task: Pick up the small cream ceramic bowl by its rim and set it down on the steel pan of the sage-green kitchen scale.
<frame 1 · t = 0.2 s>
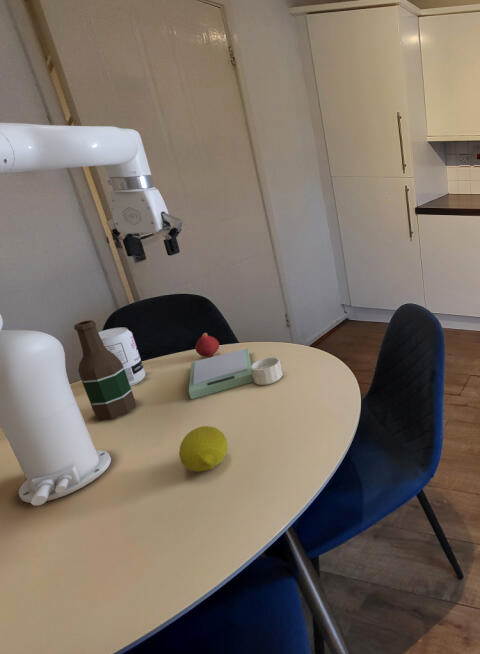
hand: (154, 254, 102), 37 cm above the table, tool pointing down, fingers open, 9 cm apart
scale: (222, 375, 117), on the table
supplement can: (127, 382, 115), on the table
beer bottle: (116, 411, 102), on the table
onion: (210, 357, 127), on the table
bowl: (268, 379, 115), on the table
lemon: (209, 464, 85), on the table
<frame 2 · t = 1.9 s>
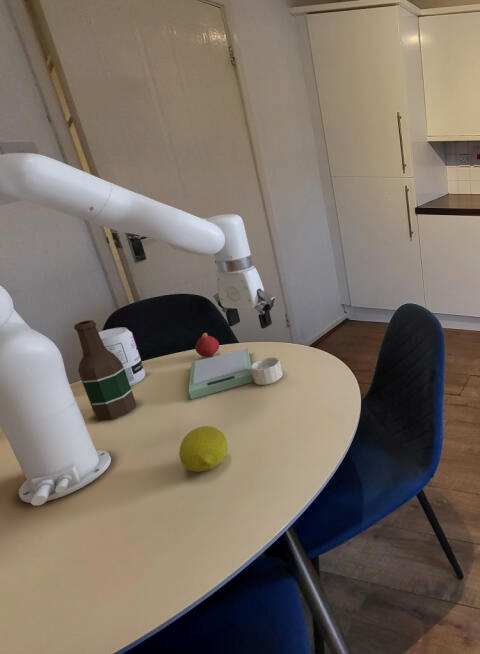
hand: (250, 325, 110), 16 cm above the table, tool pointing down, fingers open, 9 cm apart
nothing on the table moved.
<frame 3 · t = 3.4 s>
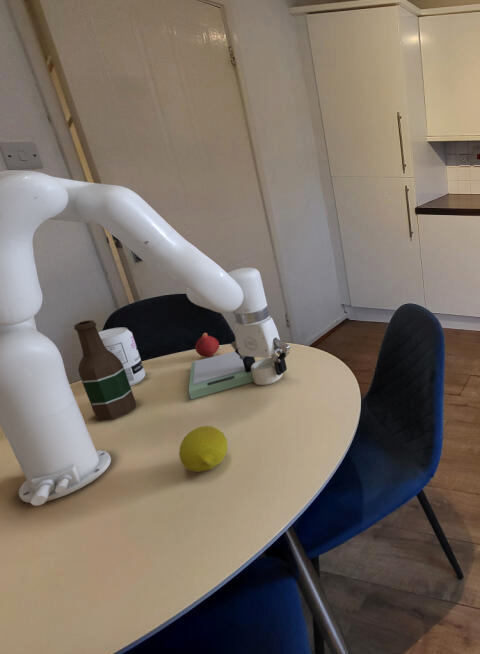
hand: (266, 371, 114), 2 cm above the table, tool pointing down, fingers open, 9 cm apart
nothing on the table moved.
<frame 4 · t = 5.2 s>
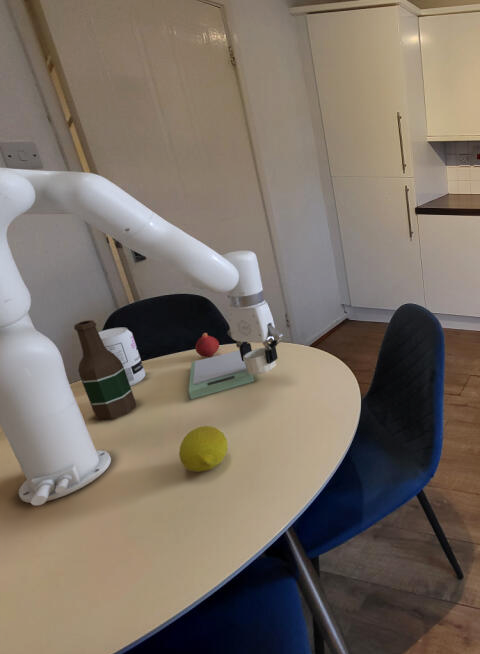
hand: (260, 359, 112), 7 cm above the table, tool pointing down, fingers closed on bowl, 7 cm apart
bowl: (262, 369, 113), point 4 cm above the table, tilted 5°, touching gripper
everything else where it was.
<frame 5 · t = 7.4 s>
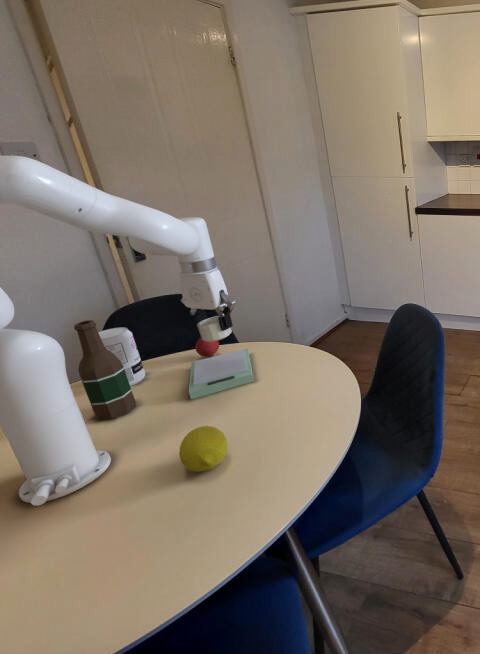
hand: (215, 327, 113), 15 cm above the table, tool pointing down, fingers closed on bowl, 7 cm apart
bowl: (218, 337, 114), point 12 cm above the table, tilted 6°, touching gripper
everything else where it was.
when the fingers open (6 cm above the table, at t = 9.9 s): bowl stays where it is, resting on scale.
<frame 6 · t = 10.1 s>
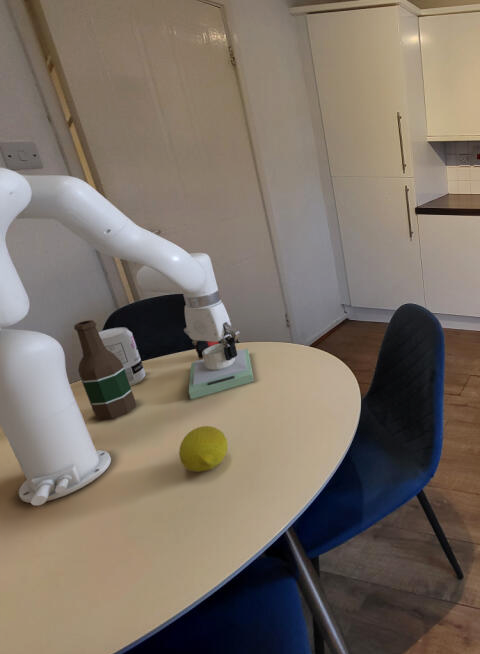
hand: (218, 356, 116), 6 cm above the table, tool pointing down, fingers open, 8 cm apart
bowl: (221, 364, 117), point 3 cm above the table, touching scale
everything else where it was.
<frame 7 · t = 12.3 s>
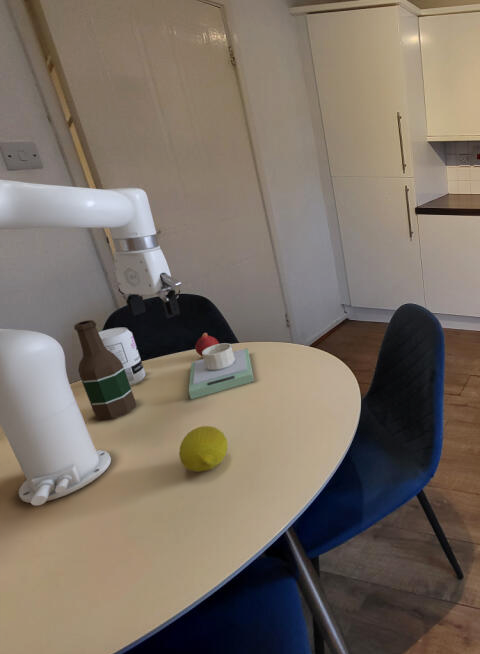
hand: (155, 314, 98), 24 cm above the table, tool pointing down, fingers open, 9 cm apart
nothing on the table moved.
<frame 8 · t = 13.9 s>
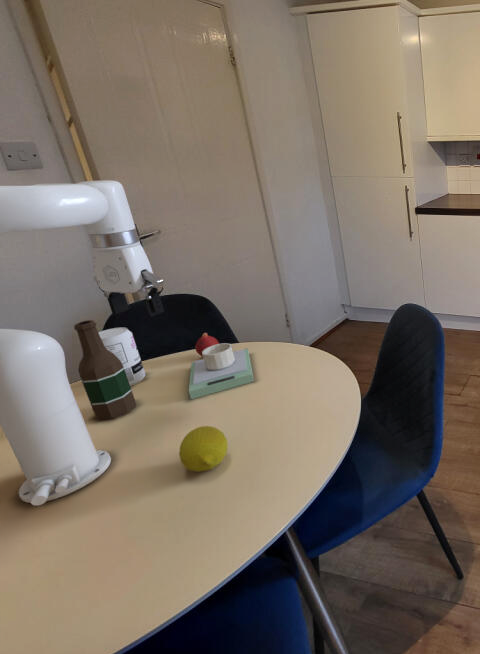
hand: (138, 313, 94), 26 cm above the table, tool pointing down, fingers open, 9 cm apart
nothing on the table moved.
at the end: bowl inside the target area on the scale (0.2 cm from its centre), point 3.0 cm above the scale's base; bowl tilted 0°; the gripper is holding nothing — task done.
